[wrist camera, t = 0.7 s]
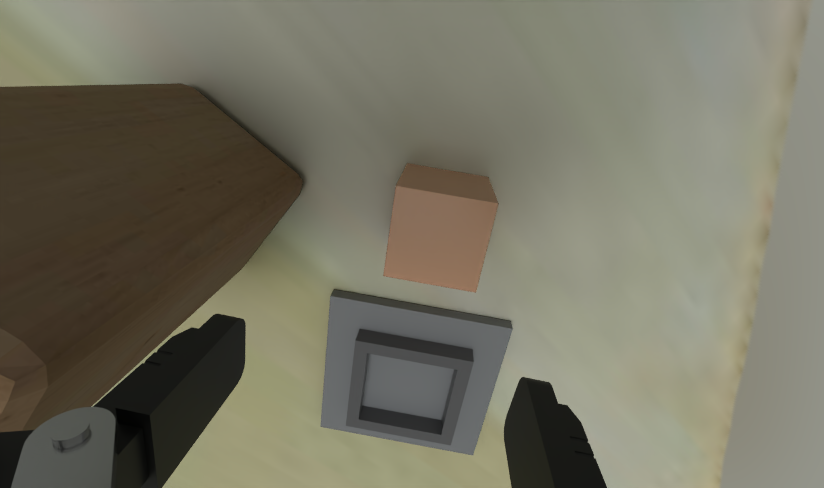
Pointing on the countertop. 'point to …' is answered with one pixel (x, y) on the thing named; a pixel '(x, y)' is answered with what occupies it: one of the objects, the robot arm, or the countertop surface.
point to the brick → (440, 227)
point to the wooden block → (116, 231)
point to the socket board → (410, 371)
